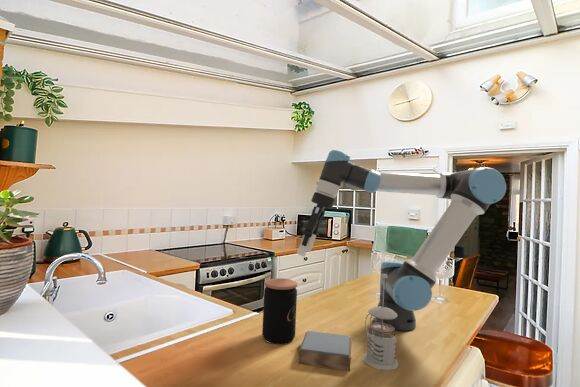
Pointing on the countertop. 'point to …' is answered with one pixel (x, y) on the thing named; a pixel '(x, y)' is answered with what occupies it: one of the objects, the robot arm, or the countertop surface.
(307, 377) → the countertop surface
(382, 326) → the glass coffee plunger
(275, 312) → the coffee jar
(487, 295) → the countertop surface
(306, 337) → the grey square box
